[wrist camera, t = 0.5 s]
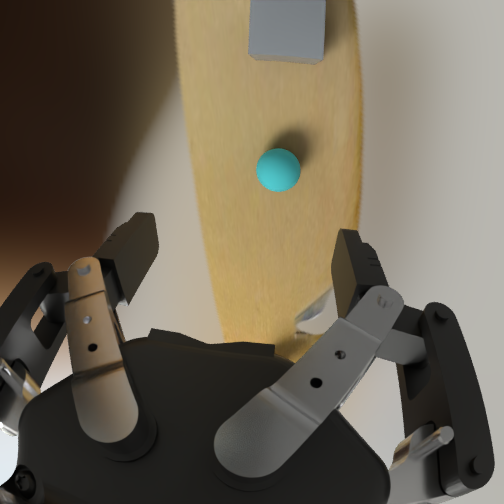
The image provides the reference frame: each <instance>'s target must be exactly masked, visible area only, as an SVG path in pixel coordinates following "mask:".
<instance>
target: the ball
mask: <svg viewBox="0 0 504 504" xmlns="http://www.w3.org/2000/svg"><path fill="white" fill-rule="evenodd" d="M256 172H257V177H258V179H259V181H260V182H261V184H262V185H263V186H264V187H266V188H267V189H269V190H271V191H276V192H281V191H286V190H288V189H290V188H292V187H293V186H294V185H295V184H296V183H297V181H298V179H299V177H300V164H299V161H298V159H297V158H296V157H295V155H294V154H292V153H291V152H290V151H288V150H285V149H281V148H276V149H271V150H269V151H267V152H265V153H264V154H263V155H262V156H261V157H260V159H259V160H258V163H257V168H256Z"/></svg>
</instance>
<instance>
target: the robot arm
mask: <svg viewBox="0 0 504 504" xmlns="http://www.w3.org/2000/svg"><path fill="white" fill-rule="evenodd" d="M158 250H159V242H158V235H157V229H156V223H155V217H154V214H153V213H143V212H137V213H135V214H134V215H133V217H132V218H131V219H130V220H129V221H128V222H125V223H124V224H122V225H121V226H119V227H117V228H116V230H114V232H113V233H112V234H111V236H109V237H108V238H107V240H106V241H105V242H104V243H103V244H102V246H101V247H100V248H99V249H98V250H97V252H96V253H95V254H94V255H93V256H92V257H85V258H81V259H79V260H77V261H75V262H74V263H73V264H72V265H71V266H70V267H69V269H68V271H63V272H55V271H54V269H53V266H52V264H51V263H49V262H42V263H39V264H36V265H34V266H33V267H32V268H30V269H29V270H28V271H27V273H26V274H25V275H24V277H23V278H22V279H21V280H20V282H19V283H18V284H17V285H16V287H15V288H14V289H13V291H12V292H11V293H10V295H9V296H8V297H7V299H6V300H5V301H4V303H3V304H2V306H1V307H0V429H1V430H2V431H4V432H5V433H6V434H8V435H10V436H17V435H18V460H17V466H16V469H15V471H14V473H13V475H12V476H11V477H10V478H9V480H7V481H6V482H5V483H4V484H2V485H1V486H0V504H439V503H442V502H445V501H448V500H451V499H453V498H456V497H459V496H462V495H464V494H467V493H469V492H472V491H474V490H476V489H479V488H481V487H483V486H484V485H485V484H487V482H488V481H489V480H490V478H491V476H492V474H493V471H494V465H495V462H494V454H493V447H492V441H491V435H490V430H489V425H488V420H487V415H486V411H485V406H484V402H483V398H482V394H481V390H480V387H479V383H478V380H477V376H476V373H475V370H474V366H473V363H472V360H471V357H470V354H469V351H468V348H467V345H466V342H465V340H464V337H463V334H462V331H461V329H460V326H459V324H458V321H457V319H456V316H455V314H454V313H453V311H452V310H451V309H450V308H448V307H447V306H446V305H444V304H441V303H438V302H432V303H429V304H427V305H426V307H425V309H424V310H423V311H422V310H419V309H415V308H412V307H409V306H406V305H404V300H403V298H402V296H401V295H400V294H399V293H398V292H397V291H396V290H394V289H392V288H390V287H389V285H388V282H387V280H386V277H385V274H384V272H383V269H382V267H381V264H380V261H379V260H378V256H377V254H376V251H375V250H374V249H373V248H372V247H371V246H370V245H369V244H368V243H362V241H361V238H360V236H359V233H358V231H357V230H349V229H340V230H339V232H338V236H337V241H336V245H335V249H334V254H333V258H332V264H331V274H332V280H333V286H334V292H335V298H336V305H337V311H338V319H337V320H336V321H335V322H334V323H333V325H332V326H331V327H330V328H329V329H328V330H327V331H326V332H325V333H324V334H323V335H322V336H321V338H320V339H319V340H318V341H317V342H316V343H315V344H314V345H313V346H312V347H311V348H310V349H309V350H308V351H307V352H306V353H305V354H304V355H303V356H302V357H301V358H300V359H299V360H298V361H297V362H296V363H293V362H292V361H290V360H288V359H286V358H284V357H282V356H279V355H276V354H274V349H275V345H273V344H262V343H252V342H233V343H221V344H206V343H204V342H201V341H199V340H196V339H193V338H191V337H188V336H186V335H183V334H181V333H176V332H170V331H165V330H159V329H153V328H151V331H150V333H149V335H148V337H142V338H136V339H132V340H129V341H126V340H125V337H124V334H123V331H122V327H121V324H120V321H119V317H118V314H117V311H116V306H117V305H118V304H120V305H125V306H128V305H129V304H130V302H131V300H132V298H133V296H134V295H135V293H136V291H137V289H138V287H139V286H140V284H141V282H142V280H143V279H144V277H145V275H146V274H147V272H148V270H149V268H150V267H151V265H152V263H153V262H154V260H155V258H156V257H157V254H158ZM38 307H40V308H41V310H42V312H43V314H44V316H43V317H42V319H41V320H40V322H39V324H38V325H37V327H36V329H35V330H34V332H33V331H32V329H31V319H32V317H33V315H34V314H35V312H36V310H37V309H38ZM66 335H67V338H68V345H69V353H70V359H71V365H72V372H73V374H71V375H70V376H68V377H66V378H65V379H63V380H61V381H60V382H58V383H57V384H55V385H53V386H52V387H50V388H48V389H47V390H45V391H44V392H42V393H41V390H40V388H41V385H42V383H43V381H44V379H45V377H46V374H47V372H48V370H49V368H50V366H51V364H52V362H53V360H54V358H55V356H56V354H57V352H58V350H59V348H60V346H61V344H62V342H63V340H64V338H65V337H66ZM376 357H378V358H382V359H385V360H388V361H392V362H395V363H396V367H397V373H398V380H399V387H400V395H401V402H402V412H403V422H404V433H405V439H404V440H403V441H402V442H400V443H399V444H398V446H397V447H396V449H395V451H394V456H393V462H392V465H391V467H390V469H389V470H388V469H387V467H386V465H385V463H384V462H383V461H382V460H381V458H380V457H379V456H378V455H377V454H376V453H375V451H374V450H373V449H372V448H371V447H370V446H369V445H368V444H367V443H366V441H365V440H364V439H363V438H362V437H361V436H360V435H359V434H358V433H357V431H356V430H355V429H354V428H353V427H352V426H351V425H350V423H349V422H348V421H347V420H346V419H345V418H344V417H343V415H342V414H341V413H340V412H339V409H340V408H341V407H342V405H343V404H344V403H345V401H346V400H347V399H348V397H349V396H350V394H351V393H352V391H353V390H354V389H355V387H356V386H357V385H358V383H359V382H360V380H361V379H362V377H363V376H364V375H365V373H366V372H367V370H368V369H369V367H370V366H371V364H372V363H373V361H374V360H375V358H376Z"/></svg>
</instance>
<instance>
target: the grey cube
mask: <svg viewBox="0 0 504 504" xmlns="http://www.w3.org/2000/svg"><path fill="white" fill-rule="evenodd" d="M325 7H326V0H251V4H250V26H249V49H248V54H249V55H250V56H251V57H253V58H254V59H255V60H267V61H283V62H295V63H305V64H314V65H315V64H317V63H318V62H320V61H322V60H323V52H324V33H325Z"/></svg>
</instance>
